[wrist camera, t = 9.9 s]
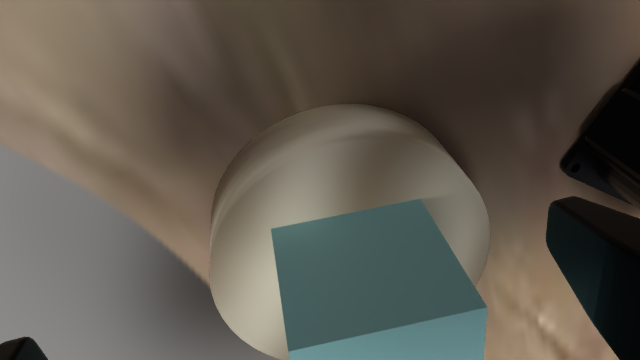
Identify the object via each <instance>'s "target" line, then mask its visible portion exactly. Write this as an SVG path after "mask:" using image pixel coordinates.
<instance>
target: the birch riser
mask: <svg viewBox="0 0 640 360" xmlns="http://www.w3.org/2000/svg"><path fill="white" fill-rule="evenodd" d="M416 199H421V200H422V202H423V204H424V205H425V207H426V209H427V210H428V212H429V213H430V215H431V217H432V218H433V220H434V222H435V223H436V225H437V226H438V228H439V230H440V231H441V233H442V235H443V236H444V238H445V239H446V241H447V243H448V244H449V246H450V248H451V249H452V251H453V252H454V254H455V256H456V257H457V259H458V261H459V262H460V264H461V265H462V267H463V269H464V270H465V272H466V274H467V275H468V277H469V278H470V280H471V282H472V283H473V285H474V287H475V286H476V284H477V283H478V281H479V279H480V277H481V275H482V272H483V270H484V267H485V264H486V261H487V257H488V253H489V248H490V235H491V234H490V222H489V217H488V213H487V210H486V206H485V204H484V202H483V200H482V197H481V195H480V193H479V192H478V190H477V189H476V188H475V186H474V185H473V183H472V182H471V180H470V179H469V178H468V177H467V176H466V174H465V173H464V172H463V171H462V169H461V168H460V167H459V166H458V164H457V163H456V162H455V161H454V160H453V158H452V157H451V156H450V155H449V153H448V152H447V151H446V150H445V149H444V147H443V146H442V145H441V144H440V142H439V141H438V140H437V139H436V138H435V137H434V136H433V135H432V134H431V133H430V132H429V131H428V130H427V129H426V128H424V127H423V126H422V125H420V124H419V123H417V122H416V121H414V120H412V119H411V118H409V117H407V116H405V115H403V114H401V113H398V112H395V111H392V110H390V109H387V108H382V107H378V106H373V105H365V104H333V105H327V106H322V107H316V108H312V109H309V110H306V111H303V112H299V113H296V114H294V115H292V116H290V117H287V118H285V119H283V120H281V121H279V122H277V123H275V124H274V125H272V126H270V127H269V128H267V129H265V130H264V131H263V132H261V133H260V134H259V135H257V136H256V137H255V138H254V139H252V140H251V141H250V142H249V143H248V144H247V145H246V146H245V147H244V148H243V149H242V150H241V151H240V152H239V153H238V154H237V155H236V157H235V158H234V159H233V161H232V162H231V163H230V165H229V166H228V168H227V169H226V171H225V173H224V175H223V177H222V178H221V180H220V182H219V185H218V188H217V190H216V193H215V196H214V201H213V206H212V212H211V238H210V269H209V278H210V286H211V292H212V295H213V298H214V301H215V305H216V307H217V309H218V310H219V312H220V314H221V316H222V318H223V319H224V321H225V322H226V323H227V324H228V326H229V327H230V328H231V330H233V331H234V332H235V333H236V334H237V335H238V336H239V337H240V338H241V339H242V340H244V341H245V342H246V343H248V344H249V345H251V346H252V347H254V348H256V349H258V350H259V351H261V352H263V353H265V354H267V355H270V356H272V357H275V358H278V359H281V360H290V357H289V353H288V347H287V340H286V333H285V326H284V319H283V312H282V304H281V297H280V290H279V283H278V276H277V269H276V262H275V255H274V248H273V241H272V234H271V229H272V228H277V227H282V226H287V225H292V224H297V223H302V222H307V221H312V220H317V219H322V218H327V217H332V216H337V215H342V214H347V213H352V212H356V211H361V210H366V209H371V208H376V207H381V206H386V205H391V204H396V203H401V202H406V201H411V200H416Z"/></svg>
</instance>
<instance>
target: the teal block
mask: <svg viewBox="0 0 640 360" xmlns="http://www.w3.org/2000/svg"><path fill="white" fill-rule="evenodd" d="M271 234H272V241H273V248H274V255H275V262H276V269H277V276H278V283H279V290H280V297H281V304H282V312H283V319H284V326H285V333H286V340H287V347H288V353H289V357H290V360H484V346H485V332H486V318H487V306H486V304H485V303H484V301H483V300H482V298H481V296H480V295H479V293H478V291H477V290H476V288H475V287H474V285H473V283H472V282H471V280H470V278H469V277H468V275H467V274H466V272H465V270H464V269H463V267H462V265H461V264H460V262H459V261H458V259H457V257H456V256H455V254H454V252H453V251H452V249H451V248H450V246H449V244H448V243H447V241H446V239H445V238H444V236H443V235H442V233H441V231H440V230H439V228H438V226H437V225H436V223H435V222H434V220H433V218H432V217H431V215H430V213H429V212H428V210H427V209H426V207H425V205H424V204H423V202H422V200H421V199H416V200H411V201H406V202H401V203H396V204H391V205H386V206H381V207H376V208H371V209H366V210H361V211H356V212H352V213H347V214H342V215H337V216H332V217H327V218H322V219H317V220H312V221H307V222H302V223H297V224H292V225H287V226H282V227H277V228H272V229H271Z"/></svg>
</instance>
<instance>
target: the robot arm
mask: <svg viewBox="0 0 640 360" xmlns="http://www.w3.org/2000/svg"><path fill="white" fill-rule="evenodd" d="M574 164H575V166H574V167H572V166H573V165H574ZM571 167H572V168H571ZM561 169H562V171H563V172H564V173H566V174H567V175H568V176H569V177H572V178H574V179H576V180H578V181H581V182H583V183H585V184H587V185H589V186H592V187H594V188H596V189H598V190H601V191H603V192H605V193H607V194H610V195H612V196H614V197H616V198H619V199H621V200H623V201H625V202H628V203H630V204H632V205H634V206H635V207H637V208H638V209H639V210H640V63H639V64H638V65H637V67H636V68H635V69H634V71H633V72H632V73H631V74H630V76H629V77H628V78H627V80H626V81H625V82H624V83H623V85H622V86H621V87H620V89H619V90H618V91H617V92H616V94H615V95H614V96H613V98H612V99H611V100H610V101H609V103H608V104H607V105H606V107H605V108H604V109H603V110H602V112H601V113H600V114H599V116H598V117H597V118H596V119H595V121H594V122H593V123H592V125H591V126H590V127H589V128H588V130H587V131H586V132H585V134H584V135H583V136H582V137H581V139H580V140H579V141H578V143H577V144H576V145H575V146H574V148H573V149H572V150H571V152H570V153H569V154H568V155H567V157H566V158H565V159H564V161H563V162H562V164H561ZM546 242H547V246H548V249H549V251H550V253H551V254H552V256H553V258H554V259H555V261H556V263H557V264H558V266H559V268H560V270H561V271H562V273H563V275H564V276H565V278H566V280H567V281H568V283H569V285H570V286H571V288H572V290H573V291H574V293H575V295H576V297H577V298H578V300H579V302H580V303H581V305H582V307H583V308H584V310H585V312H586V313H587V315H588V316H589V318H590V320H591V321H592V323H593V324H594V326H595V327H596V328H597V330H598V331H599V333H600V334H601V335H602V337H603V338H604V339H605V341H606V342H607V343H608V345H609V346H610V347H611V349H612V350H613V351H614V353H615V354H616V355H617V357H618V358H619V359H620V360H640V219H639V218H636V217H633V216H631V215H628V214H625V213H622V212H619V211H616V210H613V209H611V208H608V207H605V206H602V205H599V204H596V203H593V202H591V201H588V200H585V199H582V198H579V197H575V196H572V197H567V198H563V199H559V200H555V201H553V202H552V203H551V204H550V206H549V210H548V220H547V231H546ZM0 360H48V359H47V357H46V356H45V354H44V353H43V352H42V350H41V349H40V347H39V346H38V345H37V343H36V342H35V341H34V340H33V339H32V338H30V337H22V338H18V339H14V340H10V341H6V342H4V343H2V344H0Z"/></svg>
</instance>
